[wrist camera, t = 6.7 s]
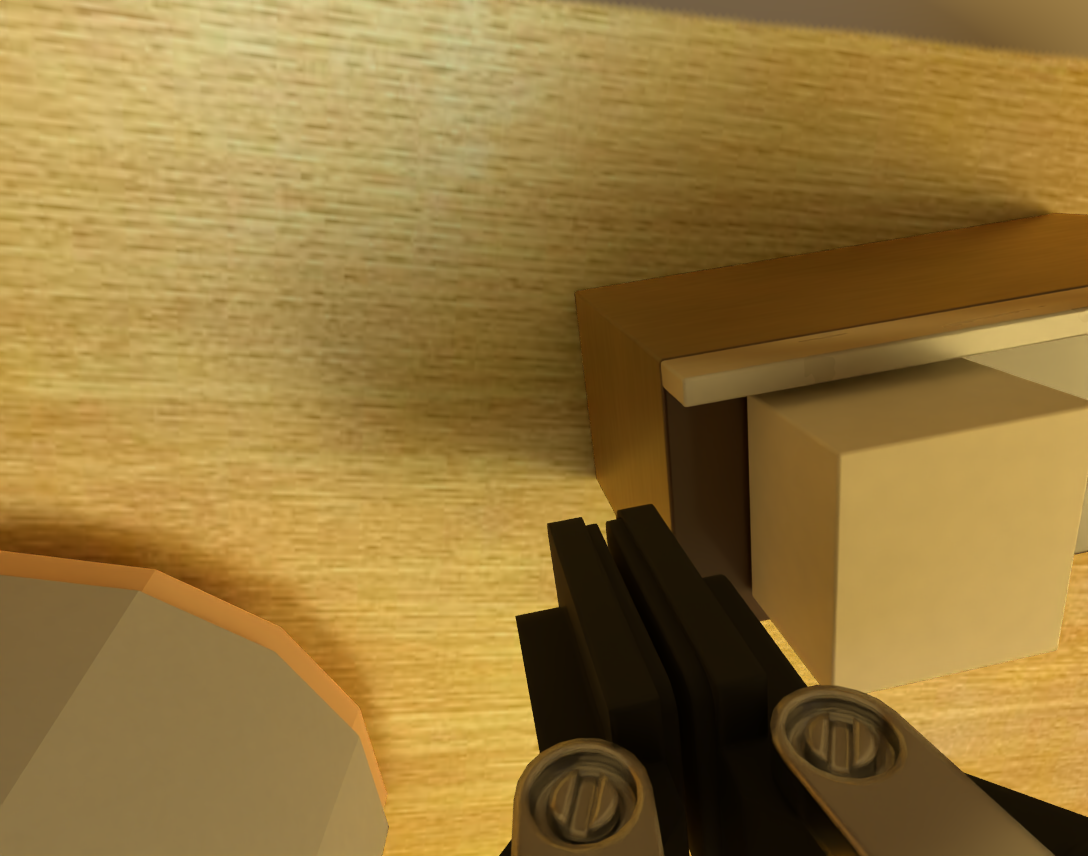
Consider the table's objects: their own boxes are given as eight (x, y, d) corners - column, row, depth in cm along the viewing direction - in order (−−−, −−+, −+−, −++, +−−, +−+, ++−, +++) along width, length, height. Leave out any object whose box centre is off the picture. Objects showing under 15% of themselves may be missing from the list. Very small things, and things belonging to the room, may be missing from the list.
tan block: (750, 596, 14) (831, 703, 11) (745, 391, 12) (838, 453, 9) (935, 557, 14) (1058, 651, 11) (953, 353, 12) (1102, 403, 10)
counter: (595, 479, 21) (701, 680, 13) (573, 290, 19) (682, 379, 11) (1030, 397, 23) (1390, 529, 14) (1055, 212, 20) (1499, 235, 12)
